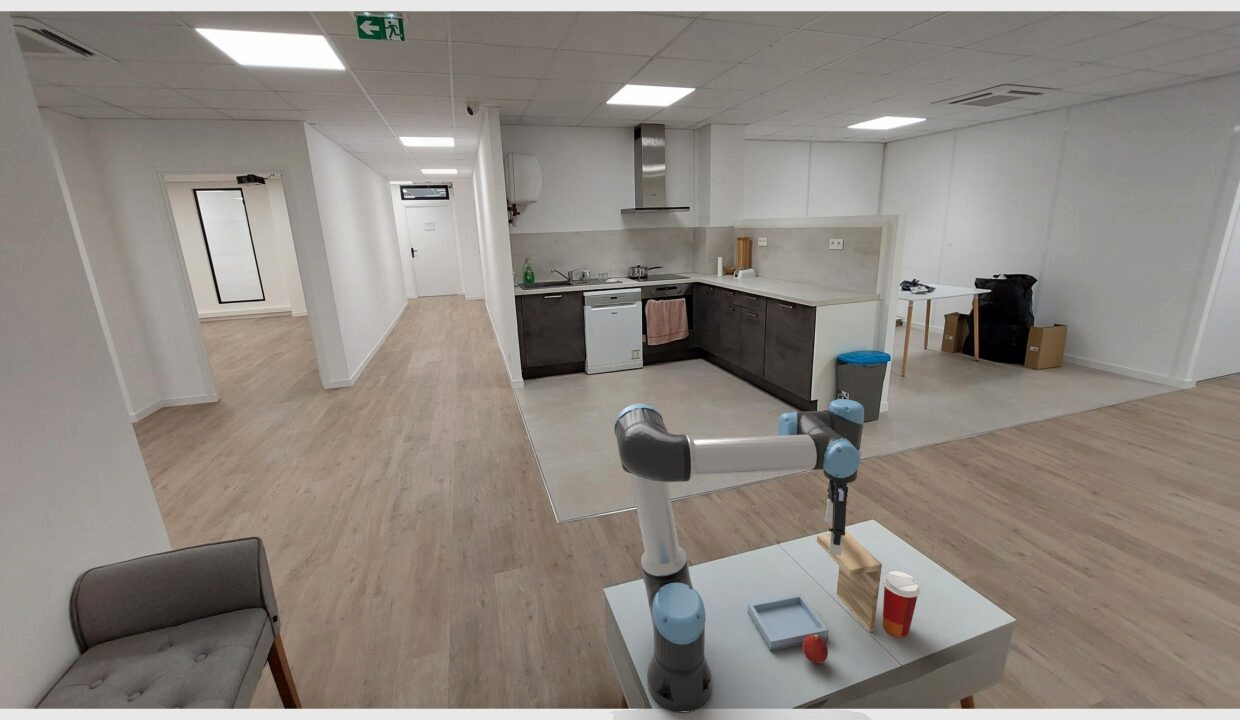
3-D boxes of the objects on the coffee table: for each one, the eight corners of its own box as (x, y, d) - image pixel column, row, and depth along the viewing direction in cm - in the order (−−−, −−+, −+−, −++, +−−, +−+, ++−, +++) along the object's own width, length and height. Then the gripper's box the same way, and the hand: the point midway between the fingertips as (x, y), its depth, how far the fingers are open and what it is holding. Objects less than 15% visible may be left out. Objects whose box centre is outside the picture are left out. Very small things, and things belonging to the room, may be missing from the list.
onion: (806, 647, 123) (808, 621, 121) (829, 659, 120) (832, 632, 117) (798, 663, 119) (800, 636, 117) (822, 675, 115) (824, 648, 113)
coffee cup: (904, 617, 131) (911, 570, 127) (919, 642, 123) (927, 593, 119) (872, 615, 132) (877, 569, 128) (885, 640, 124) (891, 592, 120)
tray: (770, 651, 122) (770, 641, 121) (747, 612, 135) (747, 603, 134) (827, 639, 125) (828, 629, 124) (800, 602, 137) (800, 593, 137)
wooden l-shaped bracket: (842, 637, 125) (849, 569, 120) (812, 598, 139) (817, 536, 133) (873, 631, 127) (882, 564, 121) (840, 593, 140) (846, 531, 135)
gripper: (864, 490, 106) (854, 572, 111) (852, 442, 128) (844, 513, 134) (827, 484, 108) (819, 565, 114) (822, 439, 131) (815, 508, 137)
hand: (832, 537), depth 124 cm, fingers open, 13 cm apart
